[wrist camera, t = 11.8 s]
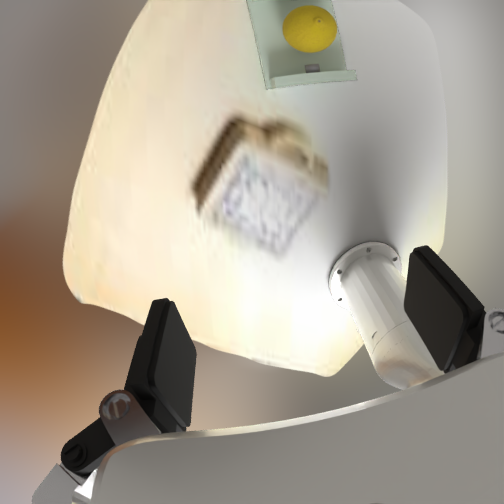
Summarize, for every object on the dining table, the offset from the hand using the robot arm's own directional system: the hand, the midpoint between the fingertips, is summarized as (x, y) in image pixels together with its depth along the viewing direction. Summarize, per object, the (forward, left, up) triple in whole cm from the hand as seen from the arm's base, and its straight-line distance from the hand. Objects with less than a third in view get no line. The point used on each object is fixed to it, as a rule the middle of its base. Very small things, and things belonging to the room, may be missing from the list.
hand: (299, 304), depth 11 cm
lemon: (+14, -8, -28) cm, 32 cm away
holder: (+14, -8, -28) cm, 33 cm away
